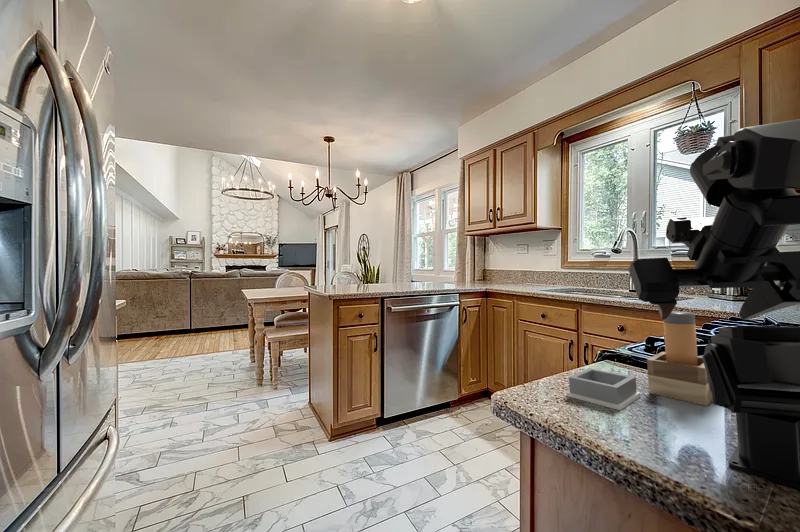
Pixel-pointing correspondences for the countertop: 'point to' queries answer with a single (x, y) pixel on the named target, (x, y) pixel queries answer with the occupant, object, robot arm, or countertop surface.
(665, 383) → the open tan box
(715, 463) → the countertop surface
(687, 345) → the bottle
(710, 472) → the countertop surface
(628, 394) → the grey bin on base
